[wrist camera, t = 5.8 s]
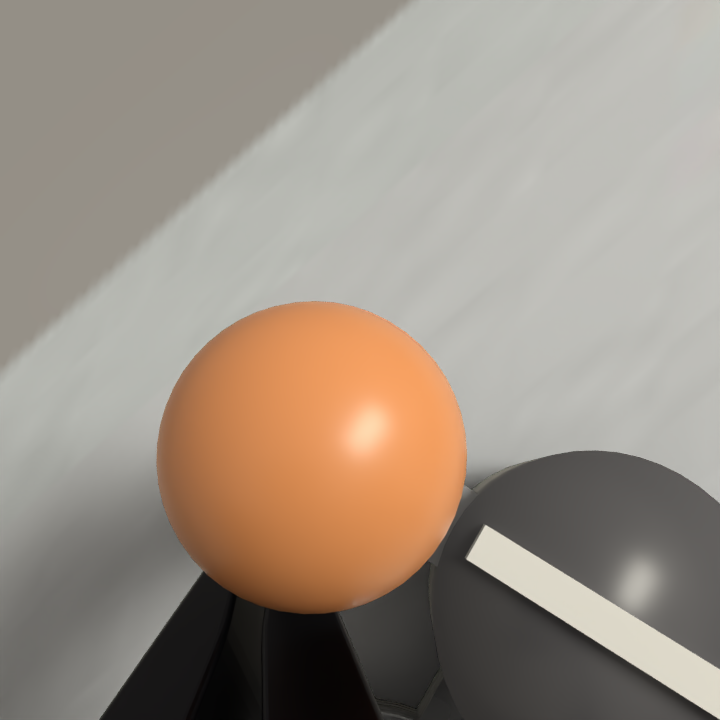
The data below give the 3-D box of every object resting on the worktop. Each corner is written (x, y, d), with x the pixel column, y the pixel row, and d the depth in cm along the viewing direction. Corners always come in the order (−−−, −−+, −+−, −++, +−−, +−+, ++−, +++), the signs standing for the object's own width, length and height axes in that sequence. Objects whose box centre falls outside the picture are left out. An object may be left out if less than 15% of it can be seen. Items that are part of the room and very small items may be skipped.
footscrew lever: (749, 549, 14) (1780, 730, 3) (624, 802, 13) (1476, 2050, 3) (387, 341, 15) (341, 34, 5) (256, 553, 15) (-120, 709, 4)
